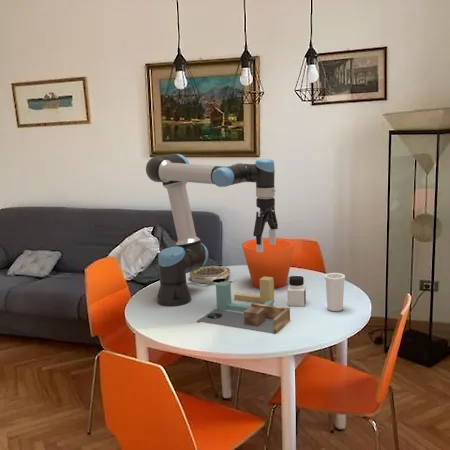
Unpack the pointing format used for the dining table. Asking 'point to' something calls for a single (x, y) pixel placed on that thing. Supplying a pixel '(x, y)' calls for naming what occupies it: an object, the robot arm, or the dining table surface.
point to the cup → (334, 291)
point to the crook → (225, 299)
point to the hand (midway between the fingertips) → (266, 248)
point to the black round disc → (214, 315)
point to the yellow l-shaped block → (265, 292)
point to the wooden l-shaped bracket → (275, 315)
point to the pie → (209, 274)
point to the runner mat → (237, 321)
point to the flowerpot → (269, 261)
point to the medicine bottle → (296, 291)
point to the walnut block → (254, 316)
